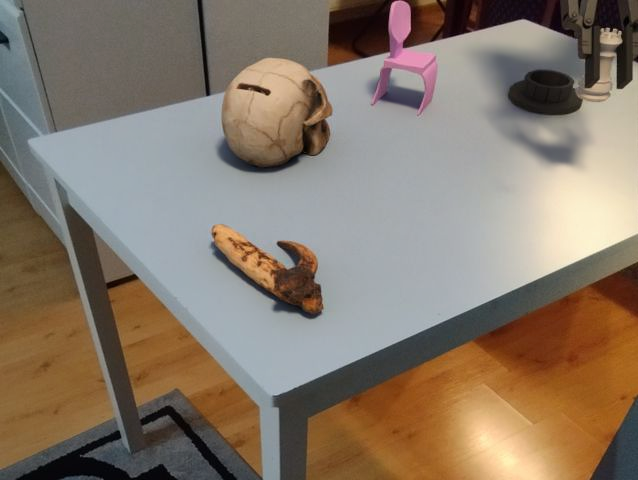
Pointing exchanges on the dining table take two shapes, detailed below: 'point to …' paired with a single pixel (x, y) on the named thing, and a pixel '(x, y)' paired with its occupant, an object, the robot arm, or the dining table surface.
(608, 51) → the rook chess piece
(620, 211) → the dining table surface
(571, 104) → the socket pad
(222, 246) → the lashed bone hook
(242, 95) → the coin bank
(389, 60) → the toy chair
